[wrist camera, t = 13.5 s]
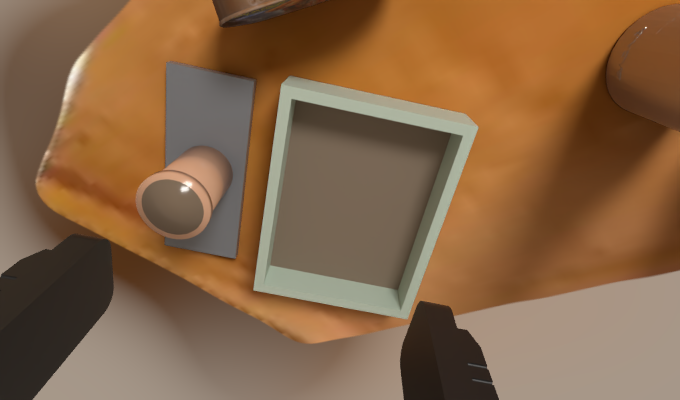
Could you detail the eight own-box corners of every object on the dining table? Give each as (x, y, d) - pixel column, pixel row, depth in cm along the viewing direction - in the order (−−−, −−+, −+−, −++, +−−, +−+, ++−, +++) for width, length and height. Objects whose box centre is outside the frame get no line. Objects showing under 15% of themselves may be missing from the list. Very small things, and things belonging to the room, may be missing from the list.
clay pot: (238, 149, 39) (211, 182, 32) (233, 204, 42) (207, 245, 35) (175, 136, 39) (134, 166, 32) (174, 192, 42) (136, 231, 35)
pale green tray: (465, 113, 38) (478, 127, 34) (403, 292, 48) (407, 319, 44) (289, 75, 37) (281, 84, 33) (262, 265, 47) (253, 290, 43)
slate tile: (256, 79, 37) (254, 81, 36) (237, 253, 46) (235, 258, 45) (171, 60, 37) (166, 62, 36) (168, 240, 46) (164, 245, 45)
